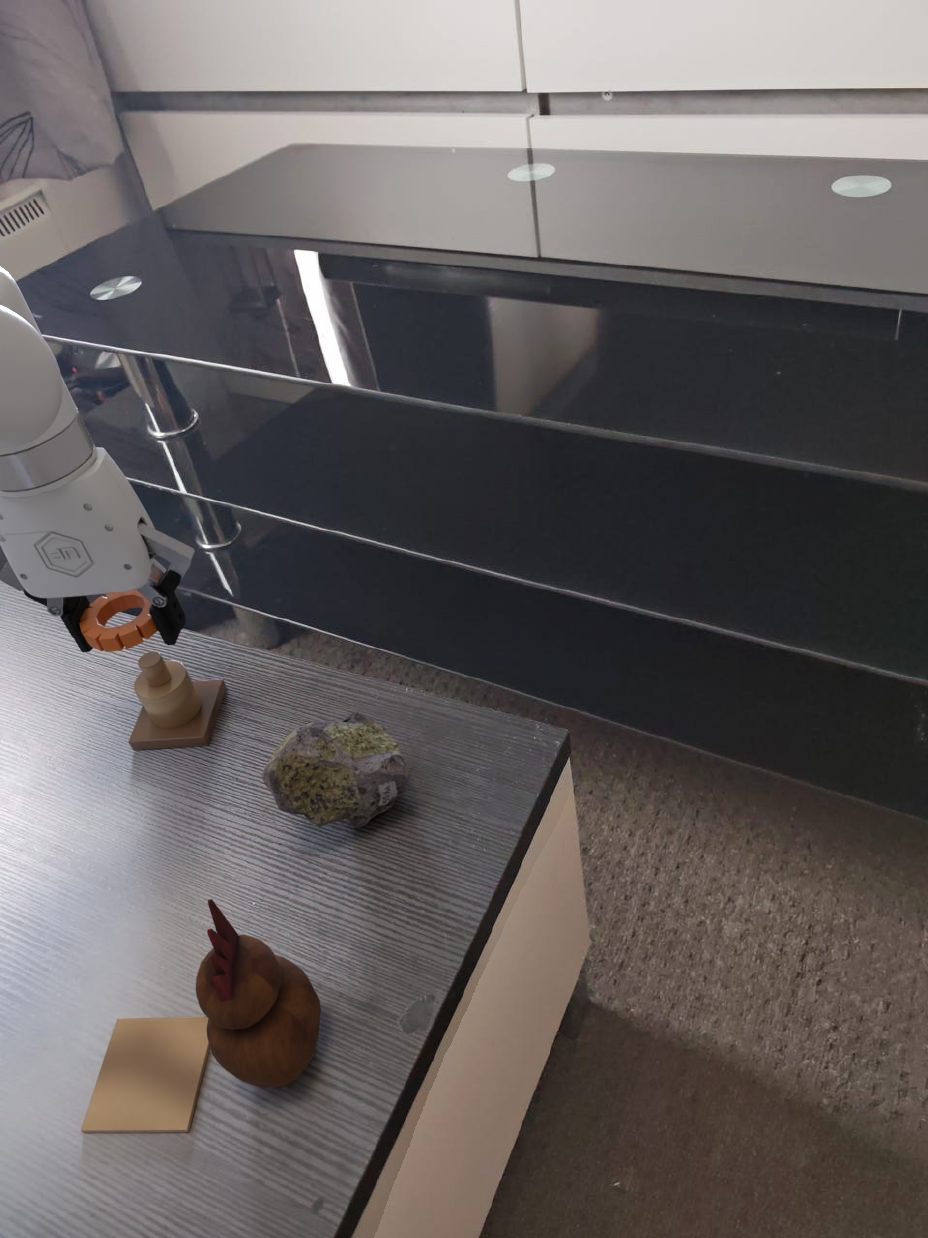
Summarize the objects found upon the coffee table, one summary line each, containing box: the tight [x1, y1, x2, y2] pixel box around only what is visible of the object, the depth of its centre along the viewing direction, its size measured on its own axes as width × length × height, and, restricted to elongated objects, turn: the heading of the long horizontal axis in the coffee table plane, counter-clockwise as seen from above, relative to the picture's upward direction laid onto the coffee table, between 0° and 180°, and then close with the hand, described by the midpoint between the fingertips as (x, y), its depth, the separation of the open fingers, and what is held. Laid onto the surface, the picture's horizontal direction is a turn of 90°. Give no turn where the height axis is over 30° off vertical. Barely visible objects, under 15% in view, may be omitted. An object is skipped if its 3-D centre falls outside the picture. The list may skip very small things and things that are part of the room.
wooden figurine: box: [195, 898, 322, 1089], centre depth 54 cm, size 7×6×15 cm
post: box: [127, 650, 228, 751], centre depth 80 cm, size 7×7×8 cm
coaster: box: [80, 1016, 211, 1134], centre depth 59 cm, size 7×7×1 cm
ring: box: [79, 590, 159, 653], centre depth 74 cm, size 7×7×1 cm
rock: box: [260, 711, 410, 829], centre depth 69 cm, size 11×10×10 cm
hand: (133, 635), depth 76 cm, fingers closed on ring, 6 cm apart
